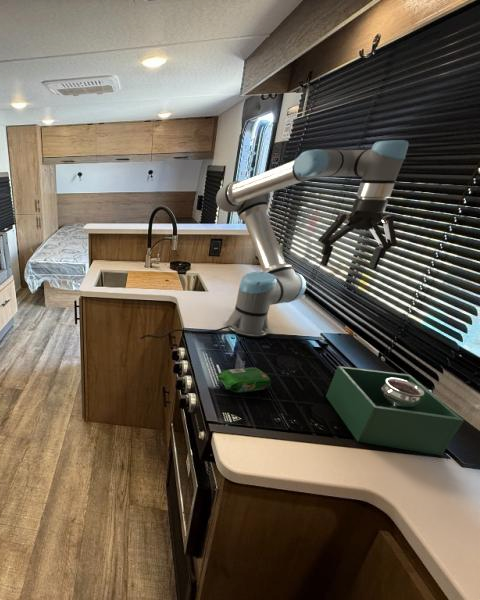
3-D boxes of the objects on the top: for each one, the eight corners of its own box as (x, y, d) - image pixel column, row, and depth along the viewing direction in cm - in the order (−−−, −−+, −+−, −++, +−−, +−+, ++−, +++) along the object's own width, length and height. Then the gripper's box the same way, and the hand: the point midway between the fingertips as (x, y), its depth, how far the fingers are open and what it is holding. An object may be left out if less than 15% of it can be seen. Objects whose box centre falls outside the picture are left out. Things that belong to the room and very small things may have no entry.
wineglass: (394, 437, 75) (415, 399, 70) (362, 418, 80) (379, 381, 76) (409, 429, 77) (430, 391, 72) (376, 411, 83) (394, 375, 78)
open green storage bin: (357, 441, 75) (374, 407, 70) (325, 396, 90) (337, 365, 85) (441, 455, 71) (464, 420, 67) (393, 406, 86) (410, 374, 81)
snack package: (212, 382, 96) (214, 368, 94) (257, 376, 98) (261, 363, 96) (225, 398, 89) (228, 383, 87) (273, 391, 91) (277, 377, 89)
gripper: (413, 197, 92) (385, 265, 101) (318, 196, 98) (300, 260, 106) (432, 200, 86) (401, 272, 94) (330, 198, 91) (309, 266, 100)
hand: (347, 266), depth 100 cm, fingers open, 13 cm apart
